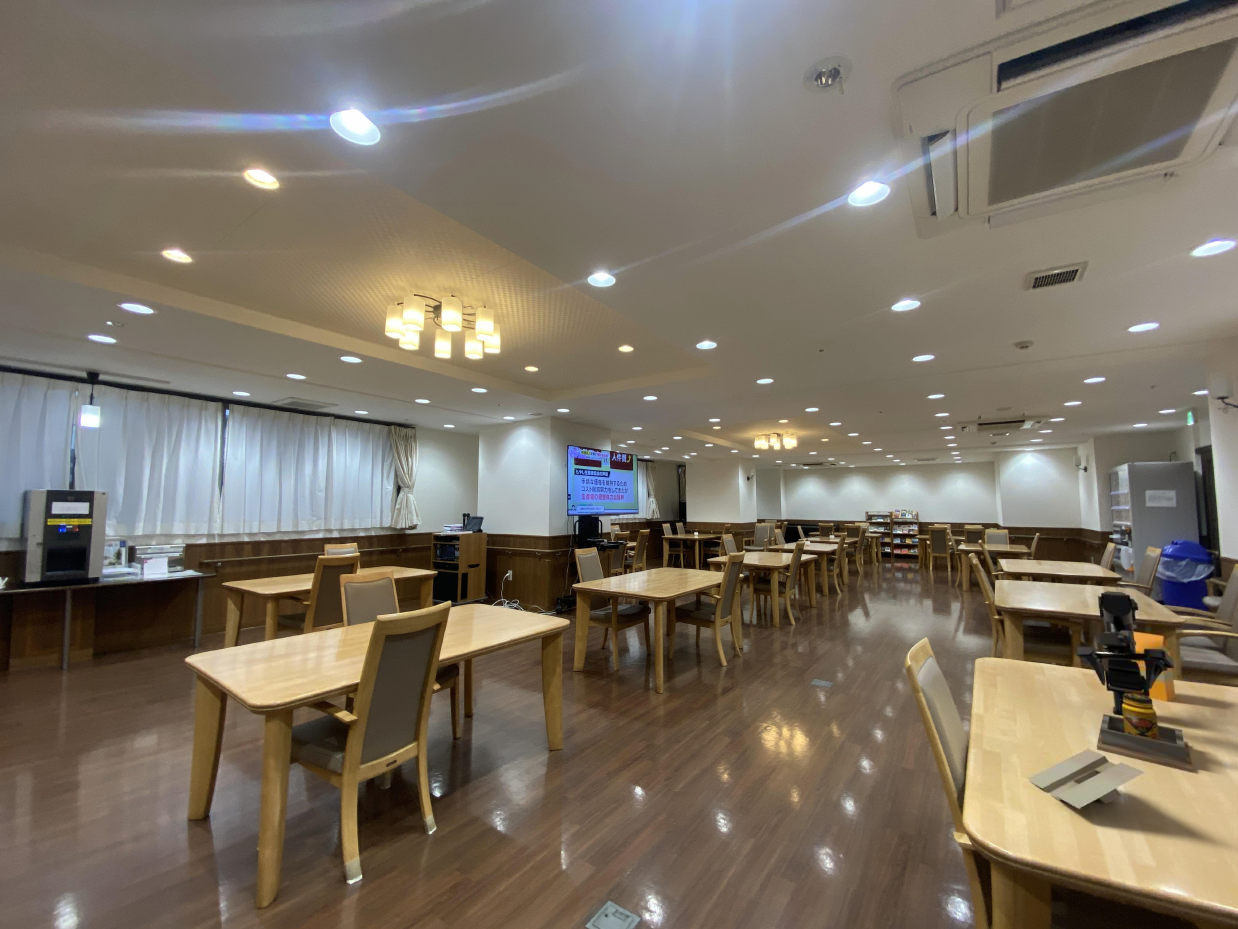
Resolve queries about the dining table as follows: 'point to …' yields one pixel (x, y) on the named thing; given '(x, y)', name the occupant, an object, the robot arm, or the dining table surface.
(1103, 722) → the well caddy
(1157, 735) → the condiment
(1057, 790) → the grey slotted panel
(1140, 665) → the orange juice
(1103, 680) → the robot arm
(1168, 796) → the dining table surface
